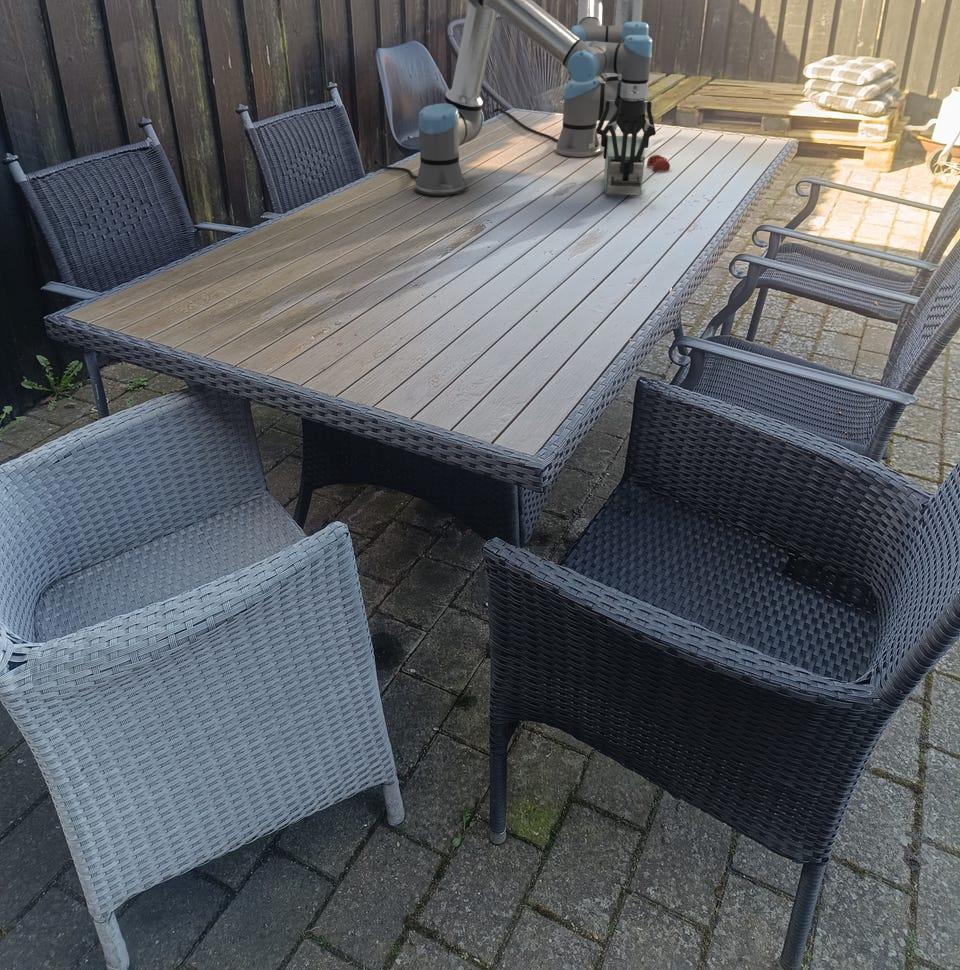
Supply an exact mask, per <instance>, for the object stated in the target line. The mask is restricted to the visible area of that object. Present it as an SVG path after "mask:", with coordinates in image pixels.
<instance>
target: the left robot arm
mask: <svg viewBox="0 0 960 970" xmlns="http://www.w3.org/2000/svg"><path fill="white" fill-rule="evenodd" d="M467 1H468V2H467V9H466V14H465V17H464V19H465V20H464V24H463V29H462V35H461V39H460V45H459V50H458V54H457V60H456V65H455V71H454V75H453V79H452V80H453V81H452V86H451V88H450V89H449V90H447V91H446V92H445V95H444V100H443V103H441V102H440V103H435V104H429V105H427V106H425V107H422V109H421V110H420V112H419V113H418V122H417V123H418V136H419V138H418V139H419V157H420V158H419V159H420V161H419V162H420V164H419V168H418V172H417V175H414V174H413V171H411V170H410V169H408V168H406V167H399V166H386V165H383V164H381V162H380V160H379V159H375V160H374V162H373V164H375V165H377V166H378V167H379V168H380V169H384V170H391V171H392V170H393V171H402V172H407V173H408V174H409V176H410V177H411V178H412V179H414V180H415V179H416V180H415V183H414V184H415V185H414V186H415V192H417V193H418V194H420V195H424V196H430V197H450V196H455V195H459V194H461V193H463V192H464V191H466V181H465V179H464V176H463V172H462V169H461V165H460V146H462V145H464V144H466V143H469V142H471V141H473V140H474V139H475V138H477V136H478V135H479V134H480V133H481V132H482V130H483V128H484V123H485V114H484V112H483V105H484V101H483V99H482V97H481V95H480V94H481V90H482V86H483V80H484V76H485V72H486V69H487V68H486V67H487V62H488V58H489V53H490V48H491V43H492V40H493V35H494V30H495V25H496V21H497V16H498V15H499V16H500V17H502V18H503V19H504V20H505V21H507V22H508V23H509V24H510V25H512V26H513V27H514V28H515V29H517V30H518V31H519V32H520V33H522V34H523V35H524V36H525V37H527V38H528V39H529V40H531V42H533V43H535V44H536V45H537V46H538V47H540V48H541V49H542V50H543V51H544V52H545V53H547V54H548V55H549V56H551V57H552V58H553V59H555V60H556V61H557V62H558V63H559V64H560V65H562V66H563V67H564V68H566V69H567V73H568V75H569V78H570V79H571V80H574V81H576V82H579V83H582V82H587V81H591V80H592V79H594V78H595V77H596V78H597V77H599V76H600V75H602V74H610V73H616V74H622V78H621V89H620V97H622V98H621V99H620V101H619V112H618V116H617V118H616V121H615V122H613V123H612V124H611V123H610V124H608V123H607V124H608V129H609V131H608V132H609V133H610V134H611V135H610V136H612V142H613V149H614V156H615V160H618V161H620V174H623V181H628V178H629V174H632V173H633V167H634V162H635V161H640V159H641V157H642V154H643V151H644V152H645V149H646V148H645V145H646V142H647V139H648V136H649V134H650V133H651V132H652V130H653V125H652V124H649V121H647V117H646V114H647V109H646V103H647V101H648V100H647V99H646V98H647V97H648V92H649V82H650V72H651V64H652V57H653V39H652V37H651V36H649V35H648V36H646V35H629V36H626V38H625V41H624V43H609V42H598V41H586V42H583V41H582V40H580V38H578V37H577V36H576V35H575V34H573V33H572V32H571V30H570V29H569V28H567V27H566V26H564V24H563V23H561V22H559V20H557V19H556V18H554V17H553V16H552V15H551V14H550V13H548V12H547V11H546V10H545V9H543V8H542V7H541V6H539V5H538V4H537V3H536V2H535V1H533V0H467ZM644 125H645V127H644V130H645V132H643V135H642V136H641V137H642V140H641V143H640V146H639V149H638V152H637V155H636V156H635V148H636V138H637V136H638V133H639V132H641V130H642V127H643V126H644ZM617 126H618V128H619V131H621V133H622V136H623V139H622V149H621V156H620V155H619V153H618V146H617V139H616V136H617V133H616V131H617V129H618V128H617ZM629 135H631V136H632V139H631V150H630V161H625V157H626V147H627V138H628V136H629Z"/></svg>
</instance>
